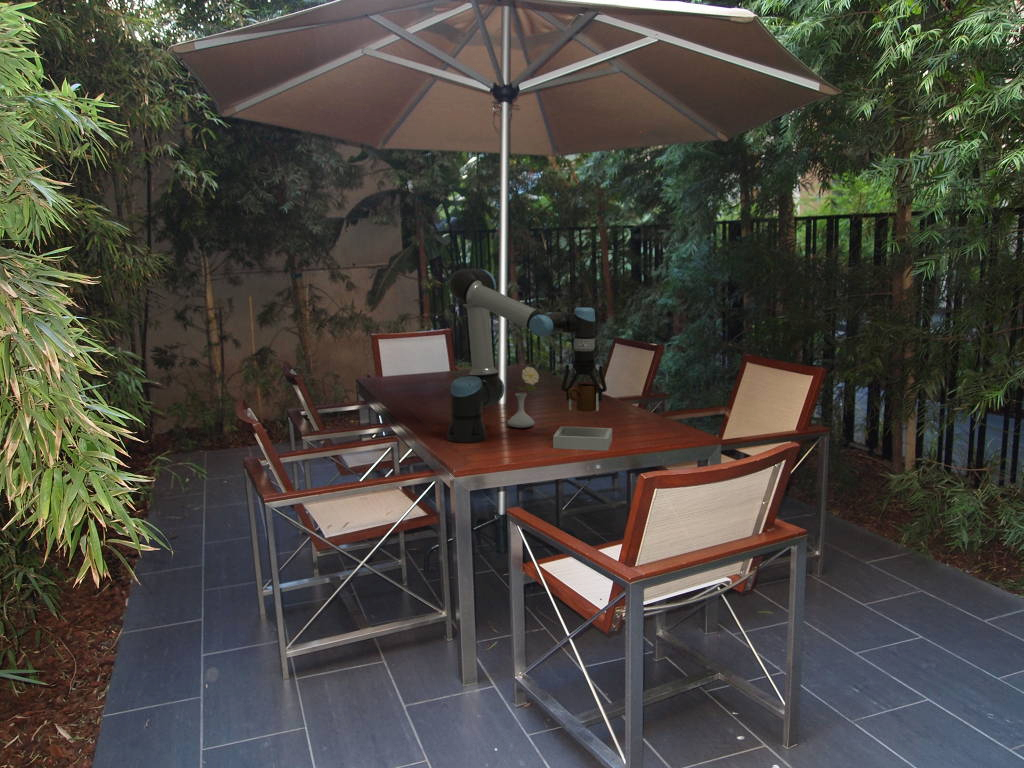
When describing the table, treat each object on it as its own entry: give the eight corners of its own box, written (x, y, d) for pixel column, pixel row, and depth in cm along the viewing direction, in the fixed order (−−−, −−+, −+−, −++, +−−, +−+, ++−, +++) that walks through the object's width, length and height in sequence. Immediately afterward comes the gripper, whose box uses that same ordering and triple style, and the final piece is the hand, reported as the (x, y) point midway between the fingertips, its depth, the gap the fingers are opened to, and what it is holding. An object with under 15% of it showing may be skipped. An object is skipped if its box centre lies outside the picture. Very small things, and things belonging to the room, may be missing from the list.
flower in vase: (510, 430, 325) (510, 369, 321) (504, 424, 336) (504, 365, 332) (541, 428, 327) (541, 368, 323) (535, 423, 338) (535, 364, 334)
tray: (553, 448, 294) (553, 436, 293) (560, 437, 311) (560, 426, 311) (607, 450, 290) (608, 438, 289) (612, 439, 307) (612, 428, 307)
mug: (573, 413, 293) (573, 388, 291) (562, 410, 299) (562, 385, 298) (600, 410, 298) (601, 385, 297) (589, 407, 305) (589, 382, 303)
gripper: (553, 350, 294) (553, 410, 297) (613, 351, 289) (612, 412, 293) (556, 348, 301) (556, 407, 305) (615, 349, 297) (614, 408, 300)
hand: (583, 409), depth 299 cm, fingers closed on mug, 9 cm apart
